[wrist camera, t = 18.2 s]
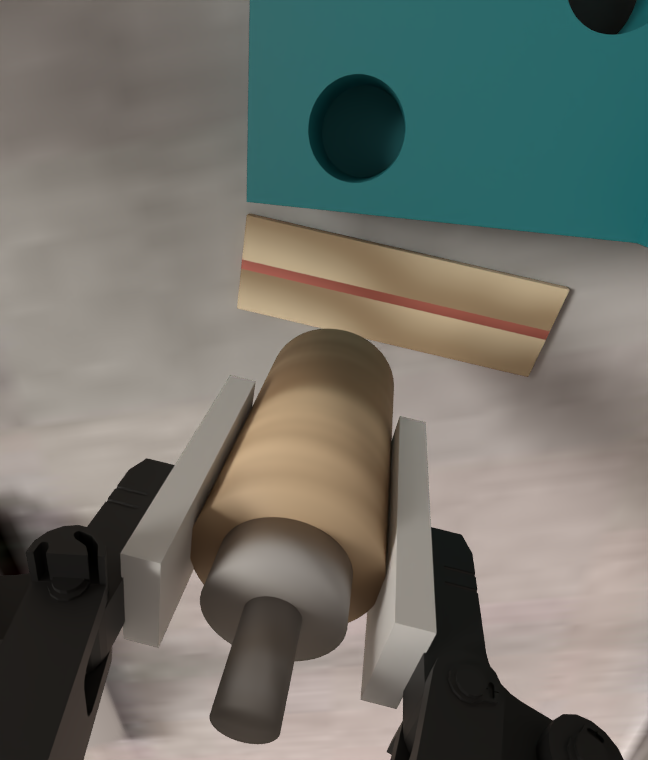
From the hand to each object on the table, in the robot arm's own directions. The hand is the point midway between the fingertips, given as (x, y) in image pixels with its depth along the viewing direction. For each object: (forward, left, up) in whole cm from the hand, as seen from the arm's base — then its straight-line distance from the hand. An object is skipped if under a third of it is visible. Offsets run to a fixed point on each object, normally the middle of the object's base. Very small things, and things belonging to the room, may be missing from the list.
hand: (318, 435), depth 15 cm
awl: (0, 0, -3) cm, 3 cm away
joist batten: (0, +2, -13) cm, 13 cm away
